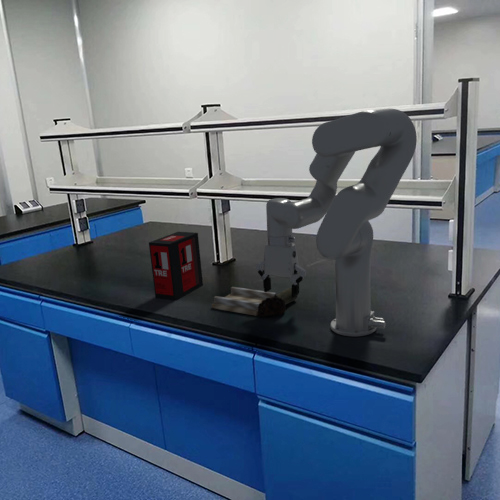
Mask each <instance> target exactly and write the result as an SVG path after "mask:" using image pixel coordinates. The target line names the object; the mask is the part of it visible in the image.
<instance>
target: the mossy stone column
mask: <svg viewBox="0 0 500 500" xmlns="http://www.w3.org/2000/svg"><path fill="white" fill-rule="evenodd" d="M297 298H298V295H297V296H295V297H292V287H291V288H290V287H289V288H287V289H285V290H284V291H281V292H280V293H278V294H276V296H274V297H273V298H266V300H263V301H262V302H261V303H260V304H259V306H258V308H259V309H258V313H257V314H258V315H257V316H261V317H263V318H264V317H269V316H271V317H272V316H276V315H277V316H281V315H282V314H284V313H285V312H286V309H287V307H286V305H287V304H290V303H292V302H294V301H295V300H297Z"/></svg>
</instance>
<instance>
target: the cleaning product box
mask: <svg viewBox="0 0 500 500" xmlns="http://www.w3.org/2000/svg"><path fill="white" fill-rule="evenodd" d="M148 248H149V256H150V257H149V258H150V264H151V265H150V266H151V270H152V279H153V286H154V287H153V288H154V295H155V298H156V299H160V300H161V299H162V300H167V301H168V300H169V301H177V300H180V299H182V298H183V297H186V296H187V295H189V294H190V293H192V292H194V291H196V290H197V289H200V288H201V287H203V286H204V281H203V273H202V263H201V252H200V251H201V250H200V242H199V233H198V232H192V231H191V232H189V231H176V232H174V233H169V235H168V234H167V235H166V236H163V237H160V238H157V239H155V240H151V241H150V242H149V241H148Z"/></svg>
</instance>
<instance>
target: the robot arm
mask: <svg viewBox="0 0 500 500" xmlns="http://www.w3.org/2000/svg"><path fill="white" fill-rule="evenodd" d="M417 138H418V137H417V131H416V127H415V125H414V122H413V121H412V119H411V118H410V117H409V115H408V114H406V113H405V112H404V111H402V110H400V109H397V108H378V109H368V110H362V111H359V112H355V113H352V114H349V115H346V116H342V117H340V118H336V119H332V120H331V121H330V120H329V121H325V122H323V123H321V124H320V125H318V126H317V128H316V129H315V131H314V132H313V135H312V137H311V144H312V149H313V151H314V152H315V156H314V158H313V159H312V161H311V162H310V164H309V168H308V171H309V173H310V176H311V177H312V178H313V179H314V180H316V183H315V185H314V187H313V189H312V191H311V192H310V194H309V195H308V197H307V198H303V199H300V200H296V201H291V200H290V199H288V198H284V197H283V198H282V197H279V198H278V197H276V198H272V199H269V200H267V202H266V205H265V207H266V209H265V210H266V213H265V214H266V234H267V236H266V237H267V240H266V241H267V242H266V243H265V247H264V252H263V253H264V254H263V261H260V262H258V263H255V268H256V270H257V273H258V275H259V276H260V277H261V278H260V279H261V280H263V281H262V283H263V284H262V285H263V291H264V292H270V290H272V280H271V277H277V278H278V277H279V278H282V279H283V278H284V279H289V280H290V282H291V283H292V284H291V288H292V297H295V296H297V297H298V295H299V293H300V283H301V282H302V281H303V280H305V278H306V275H307V274H308V270H306V269H305V268H303V267H302V266H300V265H299V258H298V251H297V247H296V244H295V243H296V242H297V238H296V237H294V234H293V230H296V229H297V230H298V229H301V228H304V227H307V226H309V225H312V224H315V223H317V222H320V221H321V220H322V221H321V224H320V225H319V227H318V230H317V232H316V236H315V244H316V245H315V246H316V248H317V251H318V253H319V254H320V255H321V256H322V257H324V258H326V259H327V260H334V296H335V302H334V303H335V318H334V319H332V320H331V322H330V330H331V331H333V332H334V333H335V334H338V335H341V336H345V337H355V338H356V337H364V336H368V335H371V334H373V333H375V332H376V331H377V330H378V329H377V328H379V329H386V325H387V324H386V323H387V322H386V321H385V318H383V317H376V316H375V311H374V310H373V311H372V309H371V308H372V307H371V306H372V305H371V303H372V302H371V293H372V292H371V274H372V273H371V271H372V270H371V261H372V260H371V259H372V249H373V243H374V229H373V227H372V224H371V222H370V221H371V220H373V219H376V218H378V217H379V216H380V215H382V214H383V213H384V211H385V209H386V208H387V205H388V204H389V201H391V200H390V199H392V196H393V194H394V193H395V191H396V189H397V188H398V185H399V183H400V181H401V180H402V178H403V176H404V174H405V172H406V170H407V168H408V167H409V165H410V163H411V162H412V159H413V157H414V154H415V152H416V148H417V142H418V140H417ZM378 147H379V149H378V151H377V152H376V154H375V155H374V156H373V157H372V159H371V160H370V162H369V164H368V166H367V168H366V170H365V172H364V174H363V175H362V177H361V179H360V180H359V181H358V182H357V183H355V184H353V185H349V186H347V187H345V188H342V189H341V190H339V192H338V193H337V191H338V181H339V179H340V178H341V176H342V175H343V172H344V171H345V170H346V168H347V166H348V164H349V163H350V162H351V160H352V158H353V157H354V155H355V153H356V152H358V151H362V150H363V151H364V150H368V149H371V148H378ZM298 274H299V276H298Z"/></svg>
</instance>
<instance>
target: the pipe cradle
mask: <svg viewBox="0 0 500 500" xmlns="http://www.w3.org/2000/svg"><path fill="white" fill-rule="evenodd" d="M276 295H277V293H276V292H272V291H268V292H264V290H259V289H252V288H244V287H239V286H238V287H237V286H232V287H230V293H229V294H228V295H226V296H217V295H215V296H214V297H213V303H212V304H211V308H212V309H216V310H221V311H228V312H233V313H239V314H245V315H250V316H255V317H256V316H259V315H258V314H257V313H258V309H259V308H258V306H259V304H260V303H261V302H262V301H263V300H266V298H273V297H274V296H276Z"/></svg>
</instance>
